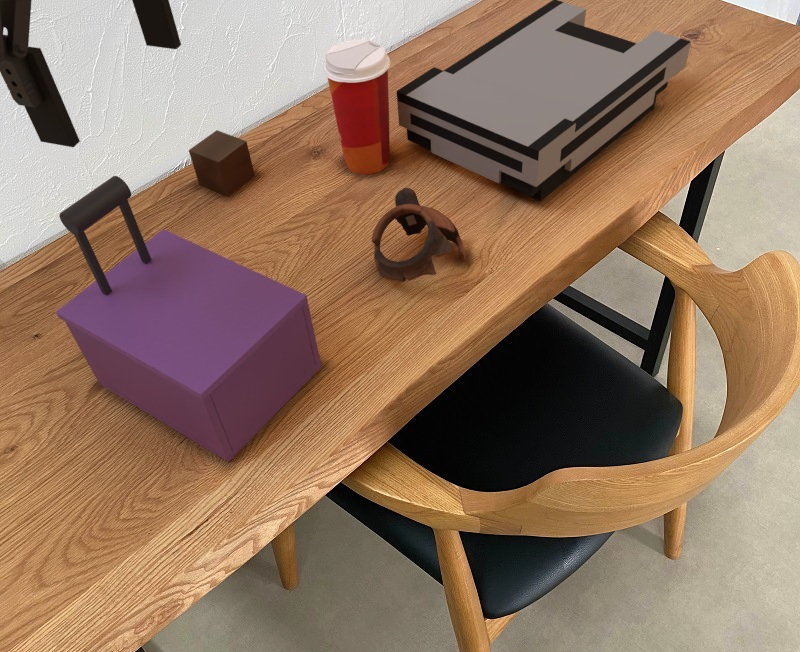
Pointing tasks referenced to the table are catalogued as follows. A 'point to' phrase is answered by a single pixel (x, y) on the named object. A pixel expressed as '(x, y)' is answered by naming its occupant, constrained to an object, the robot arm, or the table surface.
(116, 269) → the purple box lid
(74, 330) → the file box
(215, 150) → the block
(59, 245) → the table surface
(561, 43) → the game console
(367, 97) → the paper cup
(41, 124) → the robot arm
